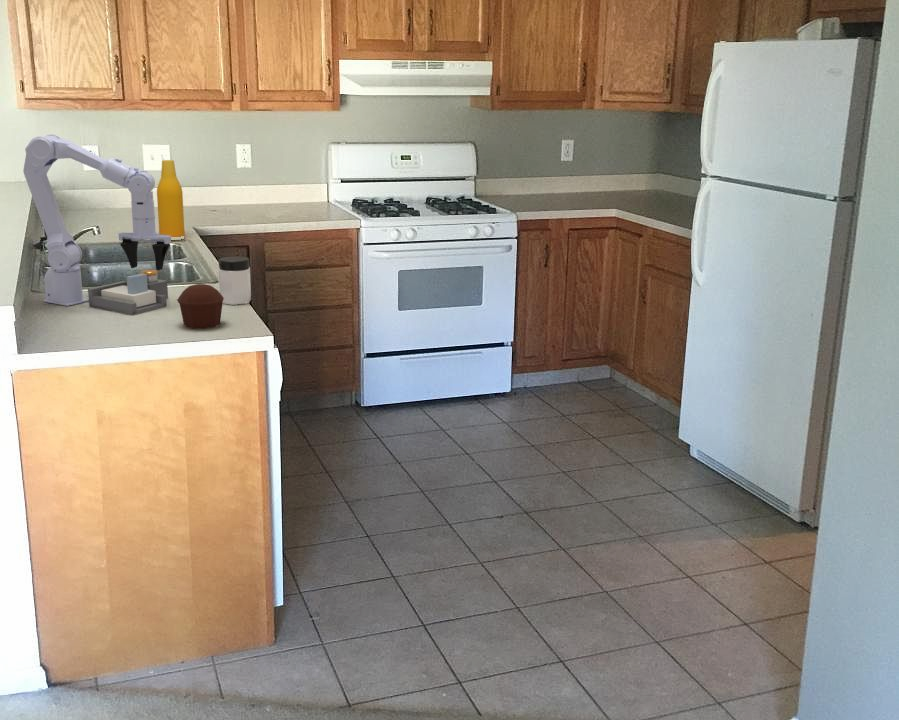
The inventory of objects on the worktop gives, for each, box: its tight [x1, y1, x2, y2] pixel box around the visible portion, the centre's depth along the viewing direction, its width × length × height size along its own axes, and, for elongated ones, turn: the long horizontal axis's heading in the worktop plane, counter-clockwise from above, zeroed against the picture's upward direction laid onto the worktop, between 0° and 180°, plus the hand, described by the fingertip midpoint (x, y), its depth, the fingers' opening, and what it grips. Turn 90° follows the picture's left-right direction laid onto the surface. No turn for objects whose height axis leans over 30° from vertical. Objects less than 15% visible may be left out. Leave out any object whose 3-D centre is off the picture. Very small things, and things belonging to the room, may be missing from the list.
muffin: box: [176, 283, 224, 330], centre depth 243 cm, size 12×11×10 cm
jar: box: [218, 255, 252, 306], centre depth 267 cm, size 9×8×12 cm
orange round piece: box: [140, 269, 158, 283], centre depth 268 cm, size 4×4×4 cm
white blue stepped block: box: [101, 273, 156, 307], centre depth 259 cm, size 12×8×8 cm, turn 61°
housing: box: [87, 278, 169, 316], centre depth 263 cm, size 16×19×5 cm
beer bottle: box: [156, 159, 186, 237], centre depth 361 cm, size 9×9×29 cm
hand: (146, 268), depth 262 cm, fingers open, 7 cm apart
